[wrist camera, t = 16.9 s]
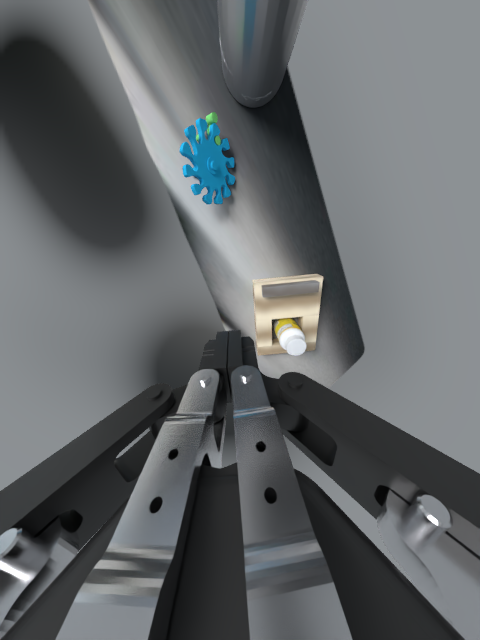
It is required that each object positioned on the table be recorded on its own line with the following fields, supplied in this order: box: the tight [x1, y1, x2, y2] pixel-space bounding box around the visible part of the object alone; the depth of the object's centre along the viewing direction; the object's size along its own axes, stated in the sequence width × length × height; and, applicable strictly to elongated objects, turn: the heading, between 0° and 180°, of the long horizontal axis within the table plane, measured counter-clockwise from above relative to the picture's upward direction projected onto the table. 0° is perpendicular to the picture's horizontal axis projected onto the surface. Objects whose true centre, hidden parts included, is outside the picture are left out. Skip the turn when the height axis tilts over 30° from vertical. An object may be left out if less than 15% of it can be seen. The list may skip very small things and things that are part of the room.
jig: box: [253, 274, 323, 355], centre depth 41 cm, size 18×14×5 cm
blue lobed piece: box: [180, 112, 235, 204], centre depth 29 cm, size 11×6×10 cm
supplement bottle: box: [273, 318, 306, 356], centre depth 40 cm, size 5×5×10 cm
